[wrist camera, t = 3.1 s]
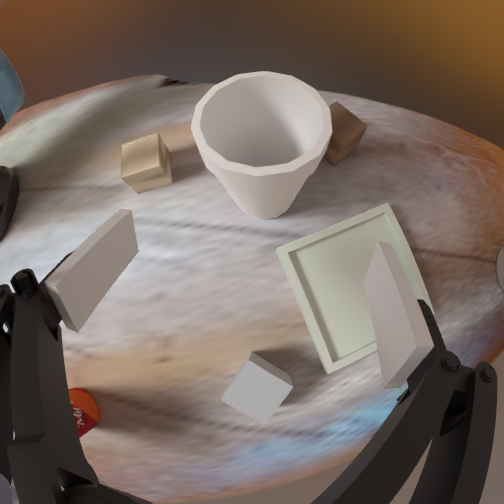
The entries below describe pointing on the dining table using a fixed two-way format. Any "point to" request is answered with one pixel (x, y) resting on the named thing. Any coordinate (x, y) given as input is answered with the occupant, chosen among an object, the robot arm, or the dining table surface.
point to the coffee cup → (500, 268)
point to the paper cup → (83, 410)
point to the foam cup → (262, 138)
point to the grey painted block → (257, 389)
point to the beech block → (146, 163)
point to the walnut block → (343, 133)
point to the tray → (344, 282)
